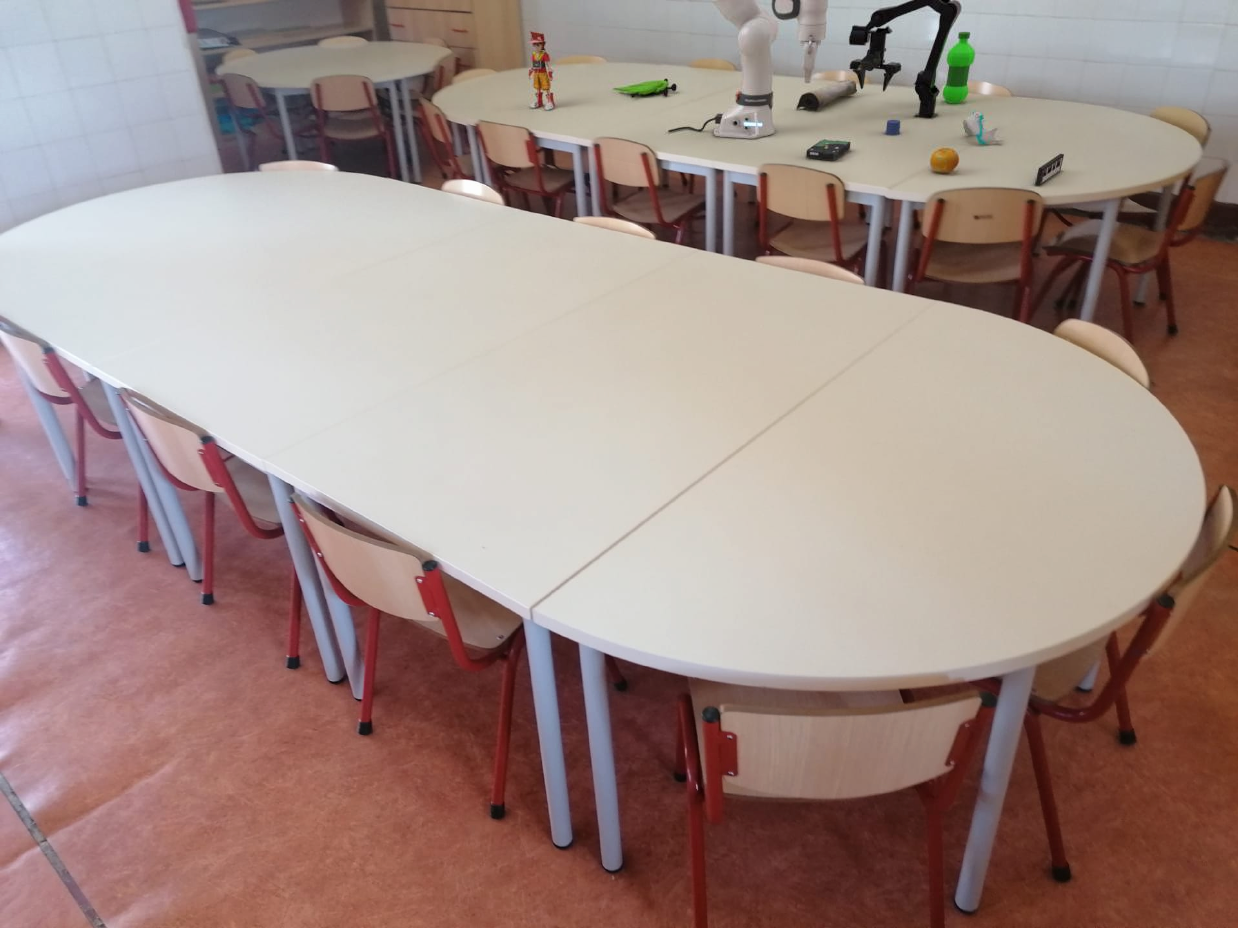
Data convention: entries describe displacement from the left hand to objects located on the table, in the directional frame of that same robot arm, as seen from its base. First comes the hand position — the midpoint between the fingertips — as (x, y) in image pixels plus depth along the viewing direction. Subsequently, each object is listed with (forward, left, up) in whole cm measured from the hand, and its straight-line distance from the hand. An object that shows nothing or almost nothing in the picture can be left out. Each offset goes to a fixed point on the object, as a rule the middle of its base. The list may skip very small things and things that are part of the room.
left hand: (808, 79), depth 292 cm
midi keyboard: (+76, -19, -25) cm, 82 cm away
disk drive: (+8, +3, -25) cm, 26 cm away
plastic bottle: (+53, +76, -25) cm, 96 cm away
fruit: (+45, -14, -25) cm, 53 cm away
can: (+30, +30, -25) cm, 49 cm away
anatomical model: (+58, +23, -25) cm, 67 cm away
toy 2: (-78, +93, -25) cm, 123 cm away
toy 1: (-114, +64, -25) cm, 134 cm away
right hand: (+22, +61, -17) cm, 67 cm away
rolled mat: (+4, +75, -25) cm, 79 cm away
